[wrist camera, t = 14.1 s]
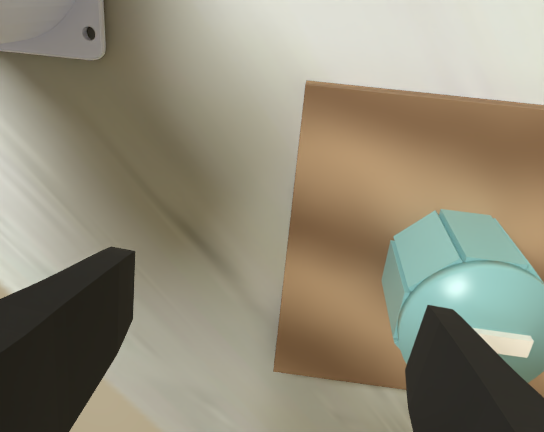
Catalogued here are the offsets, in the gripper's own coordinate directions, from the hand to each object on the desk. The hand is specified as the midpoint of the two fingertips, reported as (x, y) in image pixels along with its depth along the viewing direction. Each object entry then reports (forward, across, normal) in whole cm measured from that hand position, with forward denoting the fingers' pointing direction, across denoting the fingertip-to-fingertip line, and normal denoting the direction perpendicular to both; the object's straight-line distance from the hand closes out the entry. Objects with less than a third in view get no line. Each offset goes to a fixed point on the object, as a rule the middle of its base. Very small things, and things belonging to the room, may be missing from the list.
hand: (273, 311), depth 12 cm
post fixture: (+10, -7, +2) cm, 12 cm away
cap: (+9, -7, +3) cm, 12 cm away
